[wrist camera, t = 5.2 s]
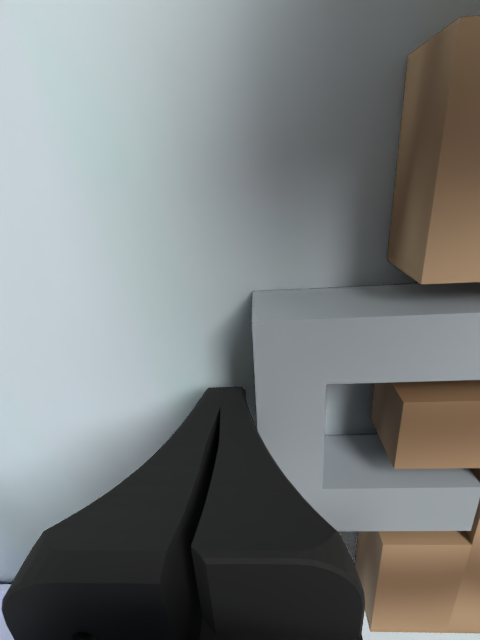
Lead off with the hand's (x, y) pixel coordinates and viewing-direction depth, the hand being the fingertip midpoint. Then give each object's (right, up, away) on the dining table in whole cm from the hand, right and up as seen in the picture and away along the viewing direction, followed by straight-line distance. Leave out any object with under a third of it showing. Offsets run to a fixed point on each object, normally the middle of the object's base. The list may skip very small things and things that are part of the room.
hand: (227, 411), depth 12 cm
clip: (+5, +1, +1) cm, 5 cm away
